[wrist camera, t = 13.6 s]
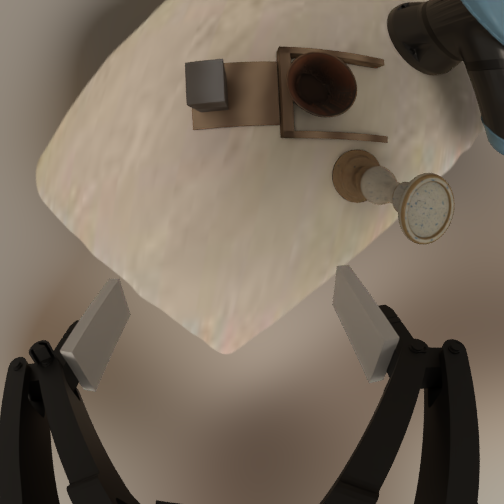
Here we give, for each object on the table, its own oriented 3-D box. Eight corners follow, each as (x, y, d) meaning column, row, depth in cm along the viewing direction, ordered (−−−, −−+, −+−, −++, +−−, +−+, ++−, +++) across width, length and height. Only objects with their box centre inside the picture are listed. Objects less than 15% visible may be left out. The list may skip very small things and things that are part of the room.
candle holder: (382, 195, 43) (457, 239, 25) (336, 206, 44) (398, 260, 25) (375, 145, 40) (457, 163, 21) (327, 154, 40) (393, 175, 22)
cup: (263, 68, 34) (283, 51, 25) (318, 64, 34) (350, 50, 25) (274, 122, 38) (297, 120, 29) (328, 115, 38) (362, 114, 29)
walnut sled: (375, 63, 33) (415, 47, 22) (378, 141, 39) (421, 148, 28) (191, 57, 33) (173, 30, 21) (195, 142, 38) (178, 146, 27)
